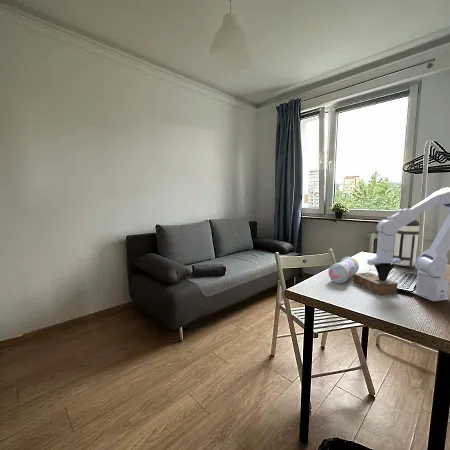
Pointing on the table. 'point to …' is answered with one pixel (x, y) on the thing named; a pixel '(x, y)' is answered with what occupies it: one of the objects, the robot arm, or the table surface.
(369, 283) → the socket block
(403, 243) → the coffee press
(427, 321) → the table surface
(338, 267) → the pencil case
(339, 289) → the table surface
